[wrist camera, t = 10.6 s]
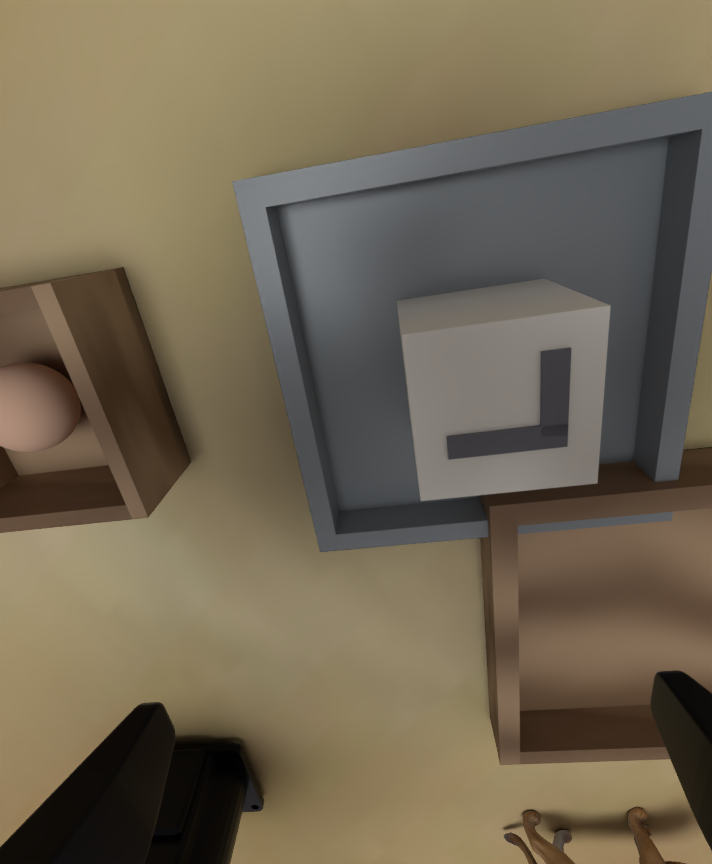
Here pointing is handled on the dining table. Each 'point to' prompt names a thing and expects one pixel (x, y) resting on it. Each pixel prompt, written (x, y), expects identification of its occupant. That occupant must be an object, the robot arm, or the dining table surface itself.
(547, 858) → the lion figurine
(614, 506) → the brown wooden tray
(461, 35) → the dining table surface
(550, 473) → the letter cube
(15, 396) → the ball
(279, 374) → the tray
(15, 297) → the box
